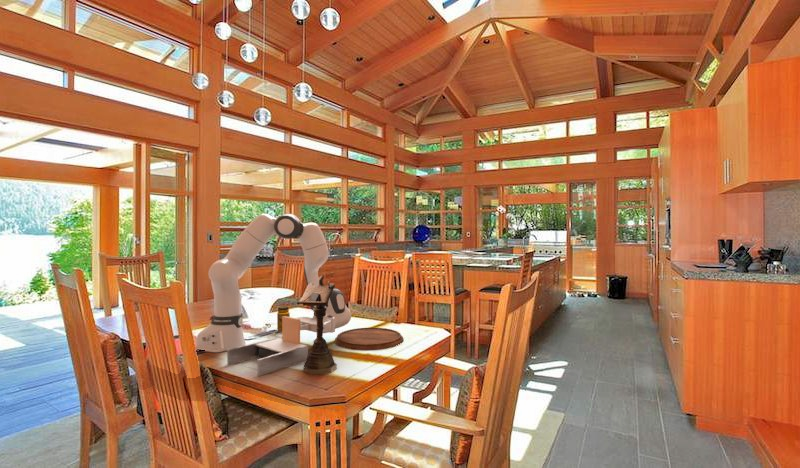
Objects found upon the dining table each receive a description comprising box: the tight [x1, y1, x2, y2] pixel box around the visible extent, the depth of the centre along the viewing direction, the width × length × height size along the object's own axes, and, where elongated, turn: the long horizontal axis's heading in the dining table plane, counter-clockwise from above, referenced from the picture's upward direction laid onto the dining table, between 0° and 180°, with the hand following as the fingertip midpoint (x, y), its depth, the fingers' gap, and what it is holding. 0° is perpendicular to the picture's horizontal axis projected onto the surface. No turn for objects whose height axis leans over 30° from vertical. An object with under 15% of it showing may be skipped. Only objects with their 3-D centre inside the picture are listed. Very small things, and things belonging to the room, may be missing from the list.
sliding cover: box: [256, 316, 306, 353], centre depth 161 cm, size 11×18×11 cm, turn 53°
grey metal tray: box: [226, 337, 309, 377], centre depth 156 cm, size 22×21×6 cm
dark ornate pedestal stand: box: [295, 274, 338, 375], centre depth 146 cm, size 17×13×35 cm
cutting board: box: [334, 327, 404, 351], centre depth 187 cm, size 32×32×3 cm
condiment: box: [275, 305, 291, 333], centre depth 206 cm, size 7×8×12 cm
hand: (296, 328), depth 167 cm, fingers closed
